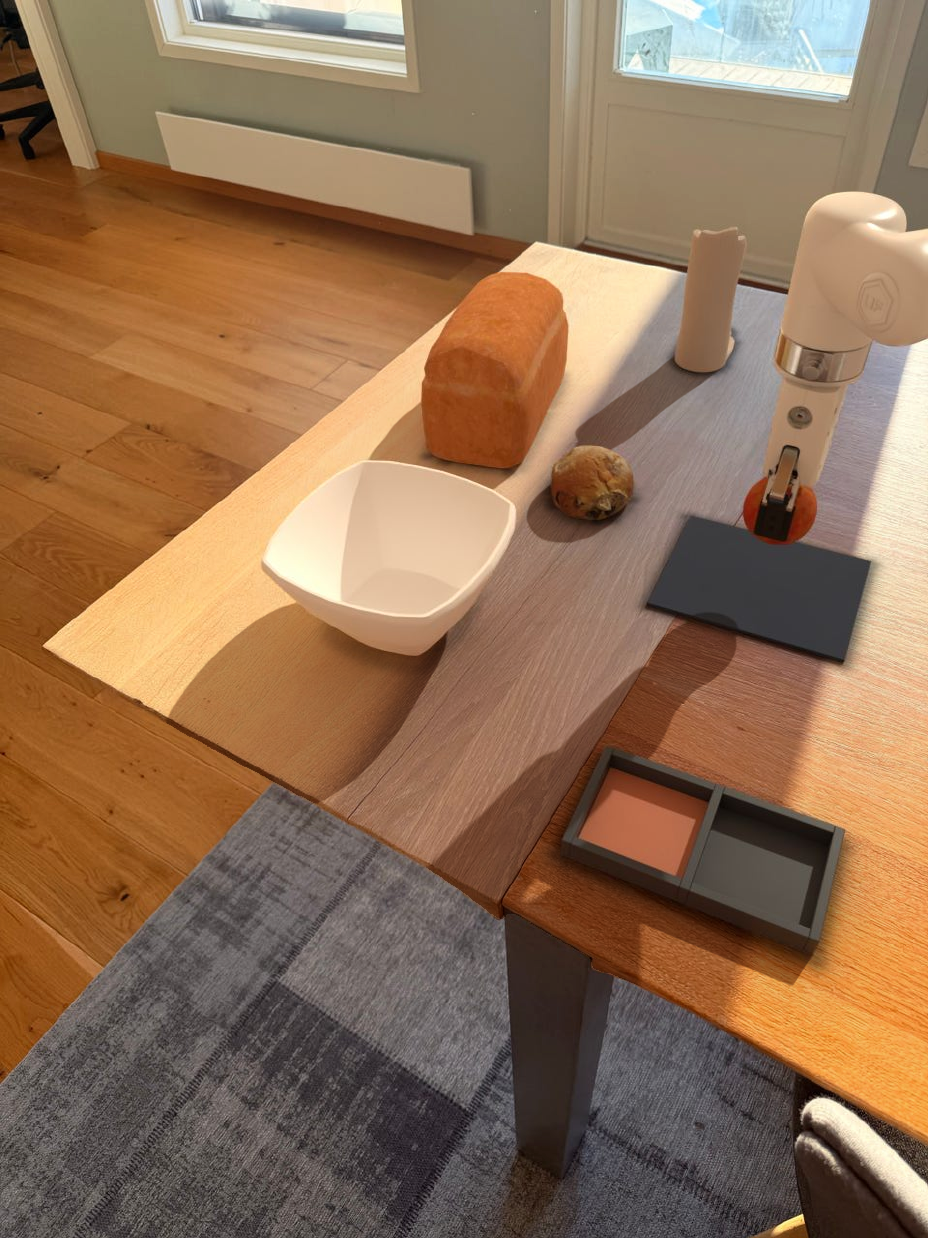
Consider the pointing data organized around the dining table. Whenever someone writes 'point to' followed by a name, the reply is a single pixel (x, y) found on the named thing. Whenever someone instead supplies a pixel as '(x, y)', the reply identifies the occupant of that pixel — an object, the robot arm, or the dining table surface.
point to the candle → (710, 299)
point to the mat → (763, 587)
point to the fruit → (802, 515)
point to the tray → (707, 847)
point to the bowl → (391, 552)
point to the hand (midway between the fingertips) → (779, 512)
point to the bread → (495, 371)
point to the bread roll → (591, 483)
